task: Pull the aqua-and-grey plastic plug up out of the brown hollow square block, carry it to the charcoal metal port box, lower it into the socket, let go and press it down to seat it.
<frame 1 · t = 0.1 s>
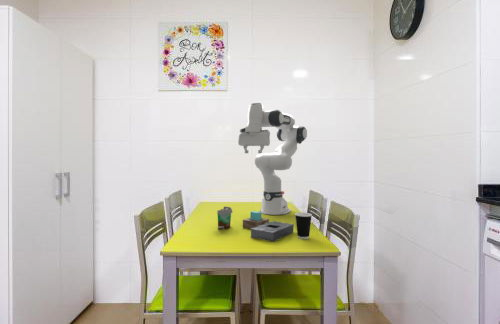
hand: (253, 153, 182), 39 cm above the table, tool pointing down, fingers open, 8 cm apart
port box: (272, 234, 149), on the table
dixie cup: (303, 238, 144), on the table
food container: (226, 227, 162), on the table
brown hollow square block: (255, 226, 164), on the table
plug: (255, 227, 164), resting in brown hollow square block
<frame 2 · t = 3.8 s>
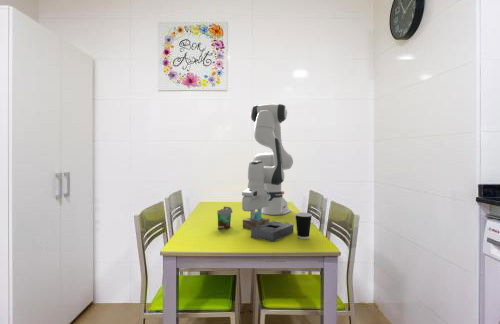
hand: (255, 217, 164), 5 cm above the table, tool pointing down, fingers closed on plug, 3 cm apart
plug: (255, 226, 164), resting in brown hollow square block, touching gripper
everything else where it was.
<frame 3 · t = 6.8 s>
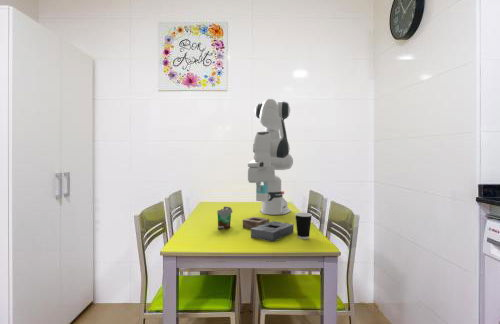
hand: (262, 190, 157), 20 cm above the table, tool pointing down, fingers closed on plug, 3 cm apart
plug: (261, 200, 157), point 15 cm above the table, touching gripper
everything else where it was.
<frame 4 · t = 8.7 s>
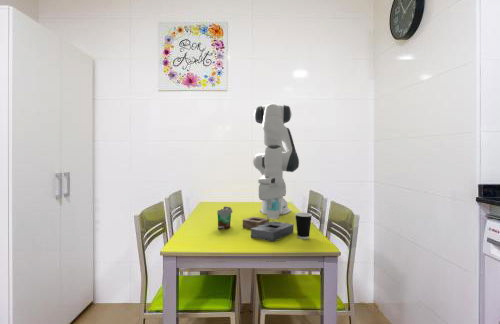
hand: (273, 207, 148), 13 cm above the table, tool pointing down, fingers closed on plug, 3 cm apart
plug: (272, 218, 148), point 8 cm above the table, touching gripper
everything else where it was.
when the fingers open (7 cm above the table, at t = 10.1 s): plug drops 2 cm, resting in port box.
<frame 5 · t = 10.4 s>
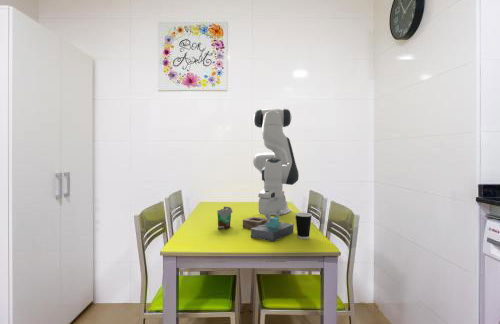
hand: (273, 221, 149), 7 cm above the table, tool pointing down, fingers open, 6 cm apart
plug: (272, 234, 149), resting in port box
everything else where it was.
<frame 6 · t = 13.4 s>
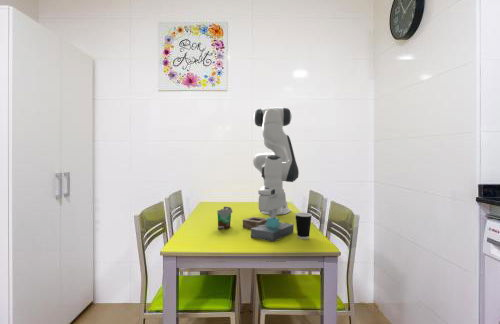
hand: (273, 218, 149), 8 cm above the table, tool pointing down, fingers closed, pressing on plug
plug: (272, 234, 149), resting in port box, touching gripper
everything else where it was.
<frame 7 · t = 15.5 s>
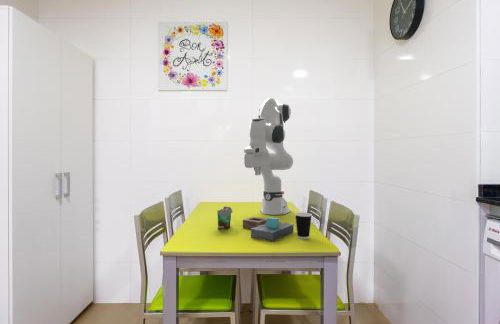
hand: (258, 175, 164), 27 cm above the table, tool pointing down, fingers closed
plug: (272, 234, 149), resting in port box
everything else where it was.
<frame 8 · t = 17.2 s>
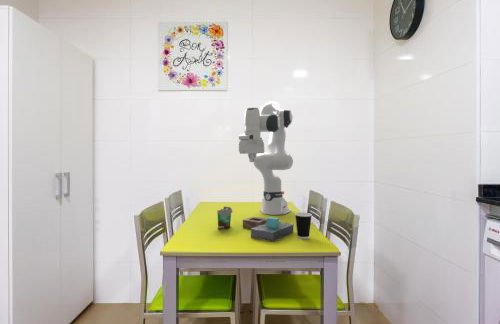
hand: (252, 162, 170), 34 cm above the table, tool pointing down, fingers closed
nothing on the table moved.
at the end: plug 0.1 cm off-centre on the port box, point 0.0 cm above the port box's base; plug tilted 0°; the gripper is holding nothing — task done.
